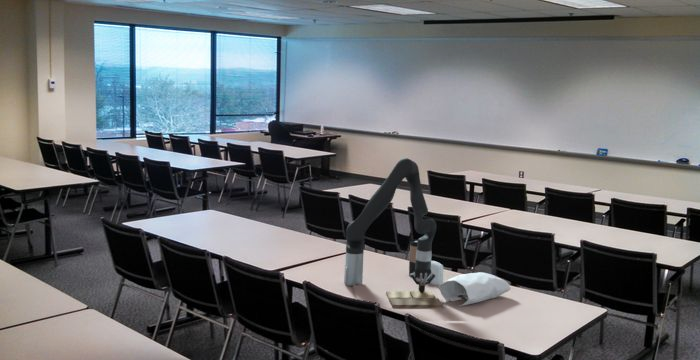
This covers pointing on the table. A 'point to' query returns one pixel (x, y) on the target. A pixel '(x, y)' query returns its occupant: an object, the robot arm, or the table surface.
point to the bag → (473, 287)
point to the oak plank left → (397, 295)
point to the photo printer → (436, 273)
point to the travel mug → (413, 256)
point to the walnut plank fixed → (415, 303)
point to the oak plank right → (422, 294)
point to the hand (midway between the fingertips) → (421, 292)
